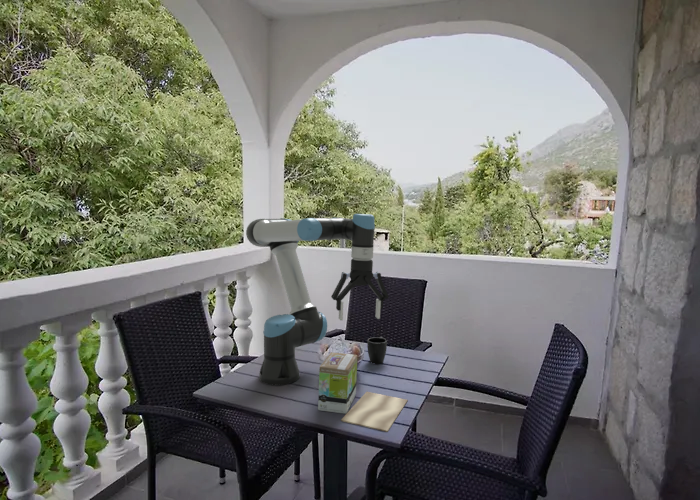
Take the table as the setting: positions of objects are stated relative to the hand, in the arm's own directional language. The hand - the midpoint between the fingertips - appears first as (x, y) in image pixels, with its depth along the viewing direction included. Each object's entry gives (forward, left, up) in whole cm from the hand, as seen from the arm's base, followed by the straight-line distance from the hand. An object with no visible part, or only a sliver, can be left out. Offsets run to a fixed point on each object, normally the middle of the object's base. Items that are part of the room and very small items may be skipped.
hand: (359, 318), depth 146 cm
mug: (-4, +32, -27) cm, 42 cm away
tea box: (-3, -11, -27) cm, 29 cm away
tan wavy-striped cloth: (+11, -11, -27) cm, 31 cm away
